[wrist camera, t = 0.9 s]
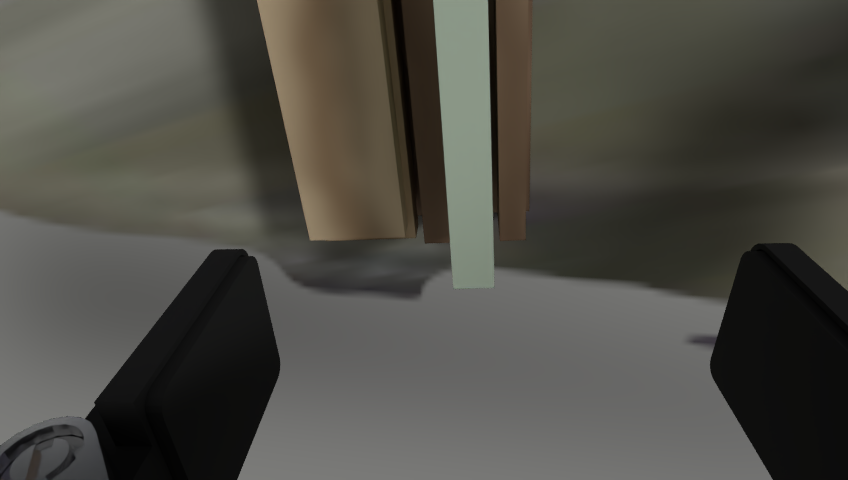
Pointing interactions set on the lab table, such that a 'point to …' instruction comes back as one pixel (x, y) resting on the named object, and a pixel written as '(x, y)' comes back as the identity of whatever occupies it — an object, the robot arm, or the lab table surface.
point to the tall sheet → (466, 137)
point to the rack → (391, 114)
